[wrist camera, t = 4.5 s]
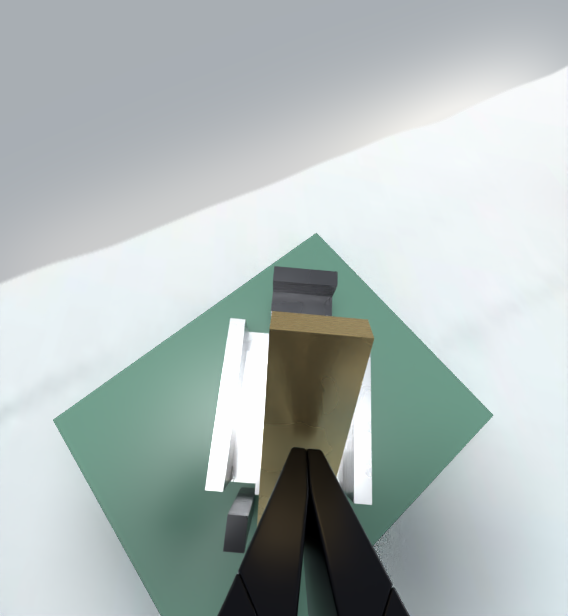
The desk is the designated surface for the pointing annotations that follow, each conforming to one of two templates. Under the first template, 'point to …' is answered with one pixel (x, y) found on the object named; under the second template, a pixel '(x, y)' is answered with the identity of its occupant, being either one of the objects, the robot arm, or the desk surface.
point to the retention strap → (310, 389)
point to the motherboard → (200, 426)
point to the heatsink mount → (251, 401)
